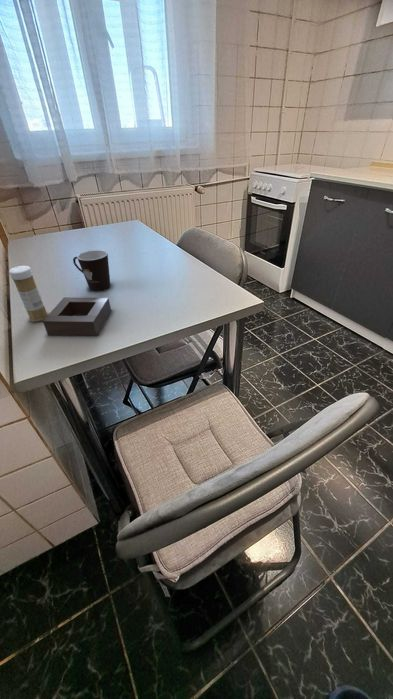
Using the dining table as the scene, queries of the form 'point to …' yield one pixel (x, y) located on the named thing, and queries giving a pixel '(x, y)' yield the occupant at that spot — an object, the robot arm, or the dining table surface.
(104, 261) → the coffee mug
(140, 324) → the dining table surface
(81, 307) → the bottle rack
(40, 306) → the sprinkles bottle
